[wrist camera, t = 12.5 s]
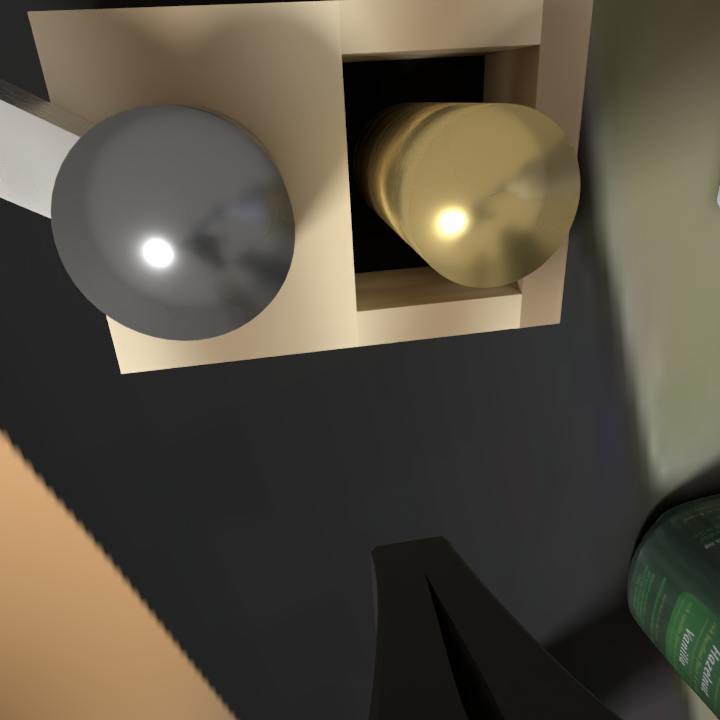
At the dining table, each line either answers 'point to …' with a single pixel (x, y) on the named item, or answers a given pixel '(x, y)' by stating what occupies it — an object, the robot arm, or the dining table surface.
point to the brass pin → (470, 186)
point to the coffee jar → (682, 593)
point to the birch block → (322, 143)
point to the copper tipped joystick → (153, 210)
